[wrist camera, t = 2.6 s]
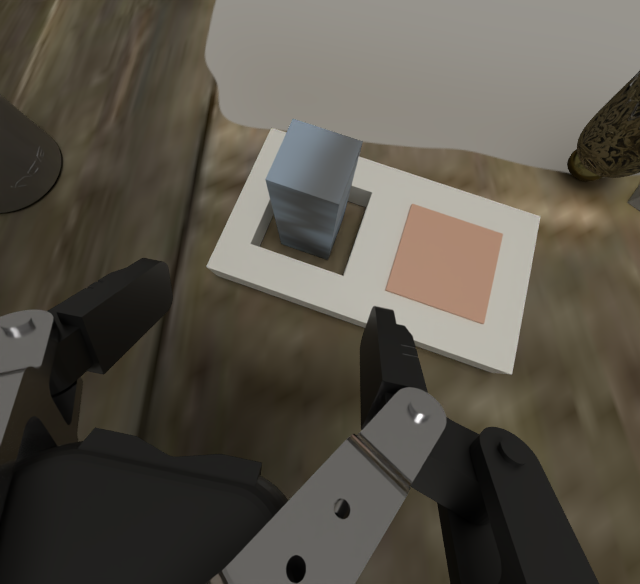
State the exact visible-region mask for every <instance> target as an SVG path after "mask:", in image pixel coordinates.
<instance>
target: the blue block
mask: <svg viewBox="0 0 640 584" xmlns="http://www.w3.org/2000/svg"><path fill="white" fill-rule="evenodd" d="M362 142H363V141H360V140H357V139H354V138H351V137H348V136H344V135H341V134H338V133H335V132H332V131H329V130H326V129H323V128H320V127H317V126H314V125H311V124H308V123H305V122H302V121H299V120H296V119H292V122H291V124H290V126H289V128H288V130H287V133H286V135H285V137H284V139H283V142H282V144H281V146H280V148H279V150H278V153H277V155H276V157H275V159H274V161H273V164H272V166H271V168H270V170H269V172H268V175H267V177H266V179H265V180H266V184H267V188H268V192H269V196H270V200H271V204H272V208H273V212H274V216H275V220H276V224H277V228H278V232H279V236H280V240H281V244H283V245H286V246H289V247H292V248H295V249H298V250H300V251H303V252H306V253H309V254H312V255H315V256H318V257H321V258H323V259H326V260H328V258H329V256H330V253H331V250H332V247H333V245H334V242H335V239H336V236H337V234H338V231H339V228H340V225H341V223H342V220H343V217H344V213H345V209H346V205H347V201H348V197H349V193H350V189H351V185H352V181H353V178H354V174H355V170H356V166H357V162H358V158H359V154H360V150H361V146H362Z"/></svg>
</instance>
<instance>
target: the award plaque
mask: <svg viewBox="0 0 640 584" xmlns="http://www.w3.org/2000/svg"><path fill="white" fill-rule="evenodd" d="M627 203H629V204H630V205H632V206H633V207H635V208H636V209H637V210H639V211H640V185H639V186H638V188H637V189H636V190H635V192H634V193H633V195H632V196H631V198H630V199H629V201H628V202H627Z"/></svg>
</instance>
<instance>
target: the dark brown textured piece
mask: <svg viewBox="0 0 640 584" xmlns="http://www.w3.org/2000/svg"><path fill="white" fill-rule="evenodd" d="M567 165H568V169H569V172H570V173H571V174H572V175H573V176H574V177H575V178H576V179H578V180H581V181H586V182H588V181H594V180H598V179H600V178H602V177H611V178H616V177H624V176H629V175H633V174H636V173H639V172H640V71H639V72H638V73H637V74H636V75H635V76H634V77H633V78H632V79H631V80H630V81H629V82H628V83H627V84H626V85H625V86H624V87H623V88H622V89H621V90H620V91H619V92H618V93H617V94H616V95H615V96H614V97H613V98H612V99H611V100H610V101H609V102H608V103H607V104H606V105H605V106H604V107H603V108H602V109H601V110H600V111H599V112H598V113H597V114H596V115H595V116H594V117H593V118H592V119H591V120H590V122H589V123H588V124H587V125H586V127H585V128H584V129H583V131H582V133H581V134H580V137H579V139H578V143H577V149H576V150H575V151H574V152H573V153H572V154H571V156H570V158H569V159H568V163H567Z"/></svg>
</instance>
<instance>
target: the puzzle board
mask: <svg viewBox="0 0 640 584" xmlns="http://www.w3.org/2000/svg"><path fill="white" fill-rule="evenodd" d="M285 135H286V132H283V131H280V130H277V129H274V128H271V130H270V132H269V134H268V137H267V139H266V141H265V143H264V145H263V147H262V149H261V151H260V154H259V156H258V158H257V160H256V162H255V164H254V166H253V168H252V171H251V173H250V175H249V177H248V179H247V181H246V183H245V186H244V188H243V190H242V192H241V194H240V196H239V198H238V200H237V203H236V205H235V207H234V209H233V211H232V213H231V215H230V217H229V220H228V222H227V224H226V226H225V228H224V230H223V232H222V234H221V237H220V239H219V241H218V243H217V245H216V247H215V249H214V252H213V254H212V256H211V258H210V260H209V262H208V264H207V266H206V267H207V268H208V269H210V270H211V271H212V272H213V273H214V274H216V275H217V276H220V277H222V278H225V279H228V280H231V281H234V282H236V283H239V284H242V285H245V286H248V287H251V288H253V289H256V290H259V291H262V292H265V293H268V294H270V295H273V296H276V297H279V298H282V299H285V300H287V301H290V302H293V303H296V304H299V305H301V306H304V307H307V308H310V309H313V310H316V311H318V312H321V313H324V314H327V315H330V316H333V317H335V318H338V319H341V320H344V321H347V322H350V323H352V324H355V325H358V326H361V327H364V328H365V327H366V324H367V321H368V318H369V315H370V312H371V310H372V307H373V306H377V307H382V308H387V309H392V310H393V311H394V314H395V319H396V324H399V325H404V326H405V327H406V328H407V329H408V331H409V332H410V333H411V334H412V336H413V339H414V343H415V346H417V347H420V348H423V349H426V350H429V351H432V352H434V353H437V354H440V355H443V356H446V357H449V358H451V359H454V360H457V361H460V362H463V363H465V364H468V365H471V366H474V367H477V368H480V369H482V370H485V371H488V372H492V373H501V374H510V375H512V372H513V366H514V361H515V355H516V349H517V344H518V338H519V333H520V327H521V322H522V316H523V310H524V305H525V299H526V294H527V288H528V283H529V277H530V271H531V266H532V260H533V255H534V249H535V244H536V238H537V232H538V227H539V221H540V216H537V215H534V214H531V213H528V212H525V211H522V210H519V209H516V208H513V207H510V206H507V205H504V204H501V203H498V202H495V201H492V200H489V199H486V198H483V197H480V196H477V195H474V194H471V193H468V192H465V191H462V190H459V189H456V188H453V187H450V186H447V185H443V184H440V183H437V182H434V181H431V180H428V179H425V178H422V177H419V176H416V175H413V174H410V173H407V172H404V171H401V170H398V169H395V168H392V167H389V166H386V165H383V164H380V163H377V162H374V161H371V160H368V159H365V158H362V157H359V158H358V162H357V166H356V170H355V174H354V178H353V181H352V185H351V189H350V193H349V197H348V201H349V202H352V203H355V204H357V205H360V206H363V207H366V210H365V213H364V216H363V219H362V222H361V225H360V227H359V230H358V233H357V236H356V239H355V242H354V245H353V248H352V251H351V254H350V256H349V259H348V262H347V265H346V268H345V271H344V274H343V276H342V275H339V274H336V273H333V272H330V271H327V270H325V269H322V268H319V267H316V266H313V265H310V264H307V263H304V262H302V261H299V260H296V259H293V258H290V257H287V256H284V255H281V254H279V253H276V252H273V251H270V250H267V249H264V248H261V247H260V245H261V242H262V240H263V238H264V235H265V233H266V231H267V228H268V226H269V224H270V221H271V219H272V217H273V214H274V212H273V208H272V204H271V200H270V196H269V192H268V188H267V184H266V180H265V179H266V177H267V175H268V172H269V170H270V168H271V166H272V164H273V161H274V159H275V157H276V155H277V153H278V150H279V148H280V146H281V144H282V142H283V139H284V137H285Z"/></svg>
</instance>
